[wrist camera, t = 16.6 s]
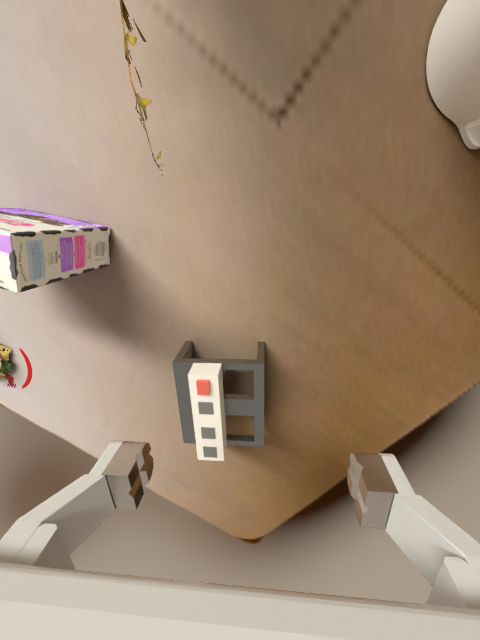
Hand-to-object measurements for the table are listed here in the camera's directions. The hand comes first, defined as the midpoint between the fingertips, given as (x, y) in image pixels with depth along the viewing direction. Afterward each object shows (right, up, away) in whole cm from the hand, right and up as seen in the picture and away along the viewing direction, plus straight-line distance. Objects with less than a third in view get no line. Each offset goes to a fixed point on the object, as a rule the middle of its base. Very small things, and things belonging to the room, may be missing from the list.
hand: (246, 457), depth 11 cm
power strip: (-4, -6, +33) cm, 34 cm away
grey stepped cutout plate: (-3, -5, +36) cm, 36 cm away
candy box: (-26, +18, +29) cm, 43 cm away
